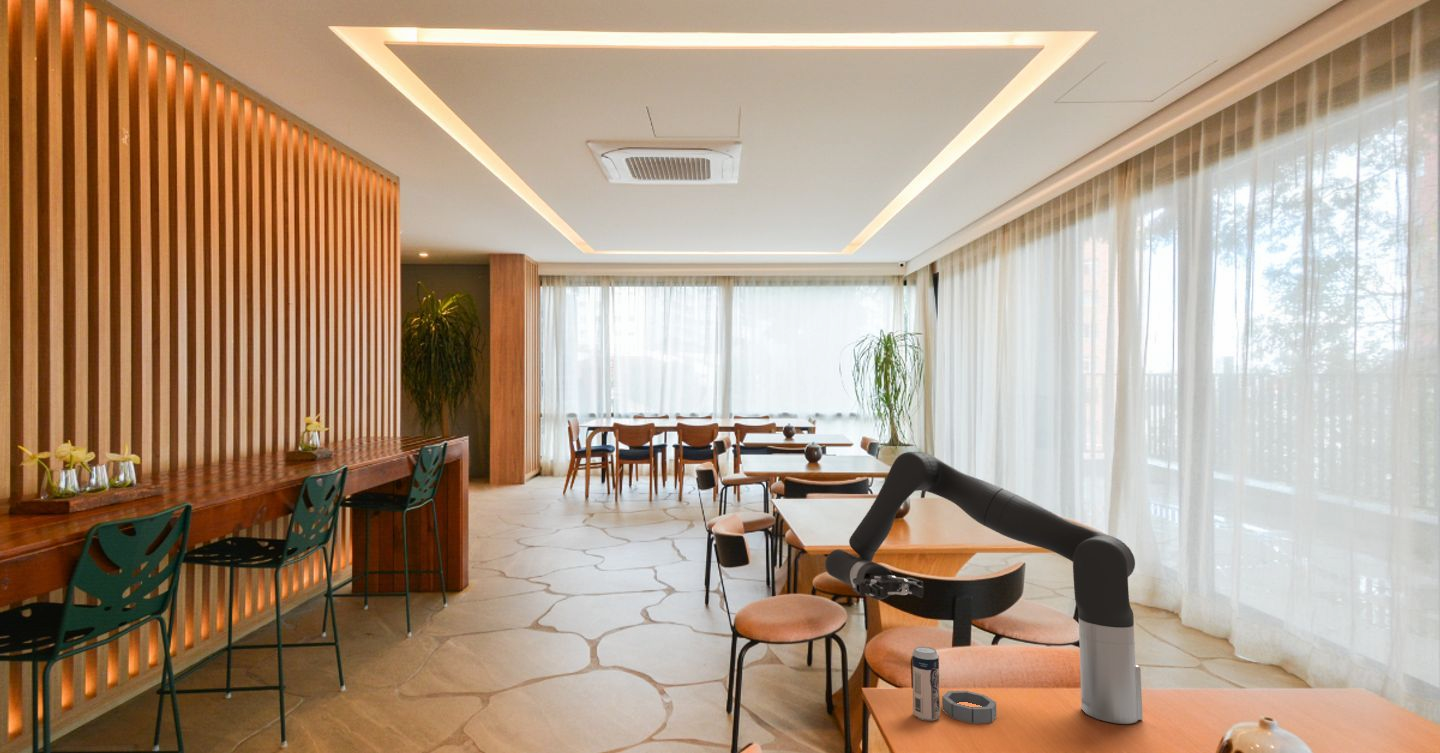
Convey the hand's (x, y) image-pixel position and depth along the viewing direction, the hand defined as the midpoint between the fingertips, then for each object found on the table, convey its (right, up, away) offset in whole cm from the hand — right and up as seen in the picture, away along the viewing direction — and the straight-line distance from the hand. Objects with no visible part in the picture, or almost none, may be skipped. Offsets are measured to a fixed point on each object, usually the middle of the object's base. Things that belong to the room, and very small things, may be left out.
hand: (901, 592), depth 133 cm
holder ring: (+10, -19, -10) cm, 24 cm away
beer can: (+1, -19, -13) cm, 23 cm away
